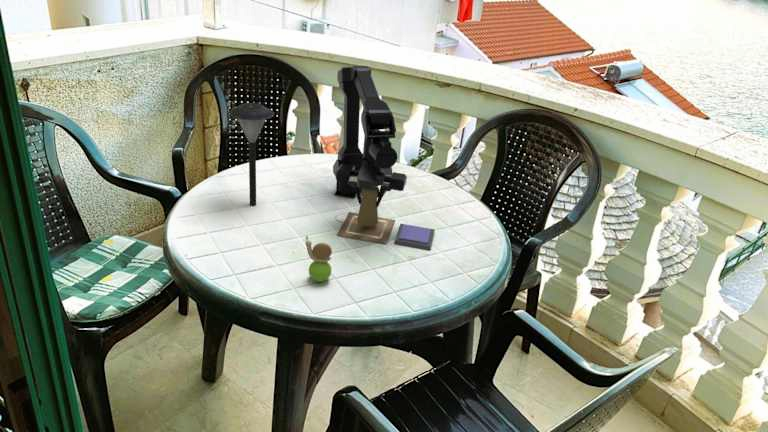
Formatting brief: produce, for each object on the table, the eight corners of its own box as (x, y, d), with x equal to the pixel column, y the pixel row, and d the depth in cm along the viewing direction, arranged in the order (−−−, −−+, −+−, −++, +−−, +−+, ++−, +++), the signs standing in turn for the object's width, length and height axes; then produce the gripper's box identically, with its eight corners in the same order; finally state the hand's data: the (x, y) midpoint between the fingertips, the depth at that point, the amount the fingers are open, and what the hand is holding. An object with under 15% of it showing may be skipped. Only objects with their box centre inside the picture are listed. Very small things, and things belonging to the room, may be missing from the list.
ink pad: (394, 244, 158) (394, 238, 157) (400, 227, 167) (400, 221, 166) (430, 250, 157) (430, 245, 156) (434, 233, 166) (434, 227, 165)
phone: (391, 166, 205) (393, 183, 191) (391, 168, 205) (392, 186, 192) (371, 164, 204) (370, 182, 191) (370, 166, 205) (370, 184, 191)
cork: (379, 217, 166) (382, 183, 161) (376, 227, 161) (380, 192, 155) (358, 214, 166) (361, 180, 161) (355, 224, 161) (358, 189, 156)
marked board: (336, 235, 159) (336, 234, 159) (348, 213, 171) (349, 211, 171) (386, 244, 157) (386, 242, 157) (395, 221, 170) (395, 219, 169)
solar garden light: (270, 194, 177) (271, 99, 163) (277, 213, 167) (277, 113, 153) (229, 196, 173) (226, 99, 159) (233, 215, 163) (230, 114, 149)
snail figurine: (304, 273, 142) (306, 230, 136) (330, 273, 142) (333, 232, 137) (303, 285, 137) (305, 242, 131) (330, 286, 138) (333, 243, 132)
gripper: (331, 158, 148) (328, 211, 155) (403, 170, 145) (396, 224, 153) (342, 143, 157) (339, 194, 165) (409, 154, 155) (403, 205, 162)
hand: (368, 204), depth 161 cm, fingers closed on cork, 5 cm apart
